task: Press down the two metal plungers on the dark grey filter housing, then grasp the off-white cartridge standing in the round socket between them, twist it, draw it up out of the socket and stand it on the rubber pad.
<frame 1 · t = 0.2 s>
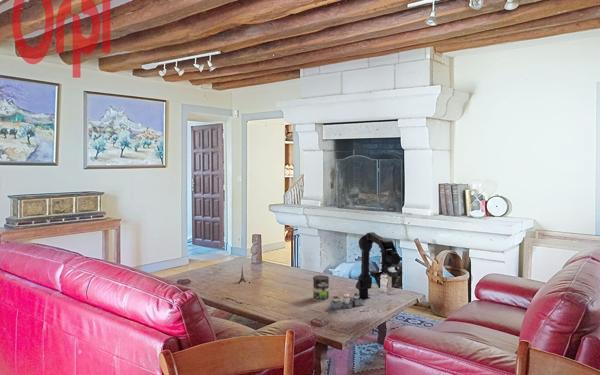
hand: (386, 287, 268), 14 cm above the table, tool pointing down, fingers open, 9 cm apart
cartridge: (346, 306, 278), resting on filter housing
coffee can: (321, 299, 294), on the table
plunger b: (356, 297, 280), point 5 cm above the table, slide at 0.0 cm
plunger a: (336, 300, 275), point 5 cm above the table, slide at 0.0 cm
eiffel tower figurine: (242, 283, 333), on the table
rubber pad: (331, 312, 268), on the table
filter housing: (346, 306, 278), on the table
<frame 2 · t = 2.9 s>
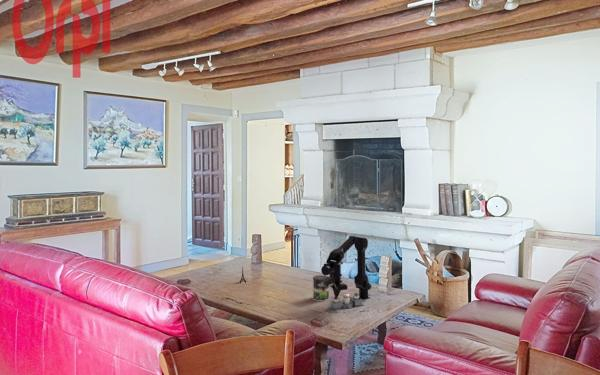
hand: (336, 297, 275), 6 cm above the table, tool pointing down, fingers closed, pressing on plunger a
plunger a: (336, 301, 275), point 4 cm above the table, slide at 0.5 cm, touching gripper
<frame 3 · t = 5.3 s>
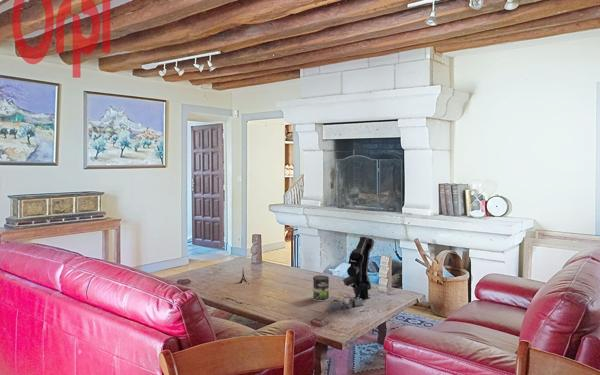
hand: (356, 297, 280), 5 cm above the table, tool pointing down, fingers closed, pressing on plunger b
plunger b: (356, 300, 280), point 3 cm above the table, slide at 2.0 cm, touching gripper
plunger a: (336, 303, 275), point 3 cm above the table, slide at 2.0 cm
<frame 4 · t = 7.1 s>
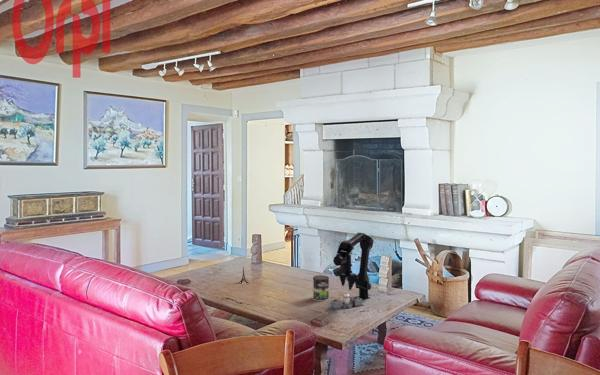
hand: (346, 287, 277), 12 cm above the table, tool pointing down, fingers open, 9 cm apart
plunger b: (356, 300, 280), point 3 cm above the table, slide at 2.0 cm
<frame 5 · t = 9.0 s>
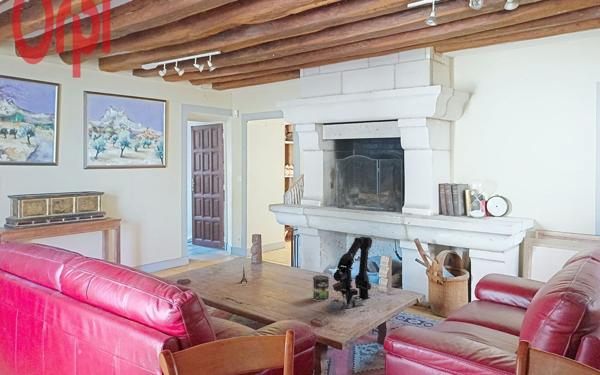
hand: (346, 302, 278), 2 cm above the table, tool pointing down, fingers closed on cartridge, 4 cm apart
cartridge: (346, 306, 278), resting on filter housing, touching gripper
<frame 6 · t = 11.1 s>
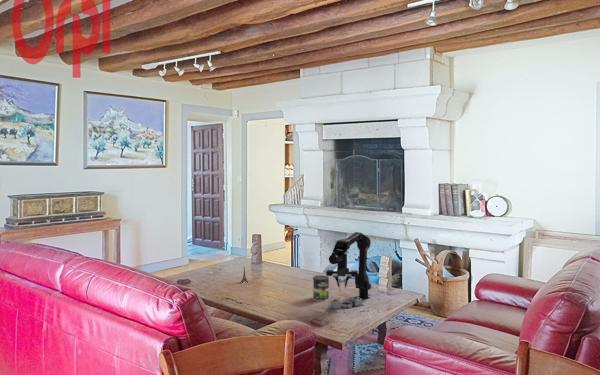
hand: (342, 287, 274), 13 cm above the table, tool pointing down, fingers closed on cartridge, 4 cm apart
cartridge: (342, 290, 274), point 11 cm above the table, touching gripper
when the fingers open (3 cm above the table, at t = 13.6 s): cartridge drops 1 cm, resting on rubber pad.
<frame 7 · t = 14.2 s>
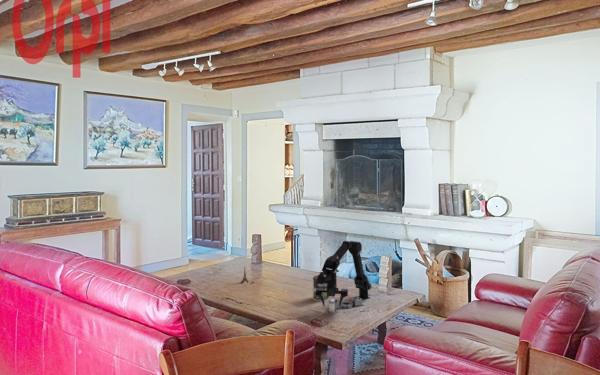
hand: (331, 306, 268), 3 cm above the table, tool pointing down, fingers open, 9 cm apart
cartridge: (331, 311, 268), resting on rubber pad
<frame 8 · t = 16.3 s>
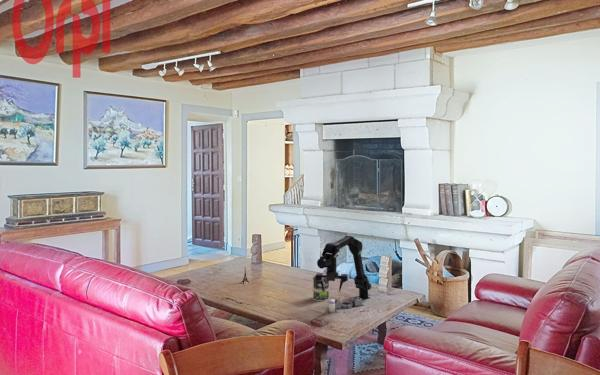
hand: (331, 291, 268), 12 cm above the table, tool pointing down, fingers open, 9 cm apart
at the end: plunger a slide at 2.0 cm; plunger b slide at 2.0 cm; cartridge 0.0 cm off-centre on the rubber pad, point 0.4 cm above the rubber pad's base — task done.
